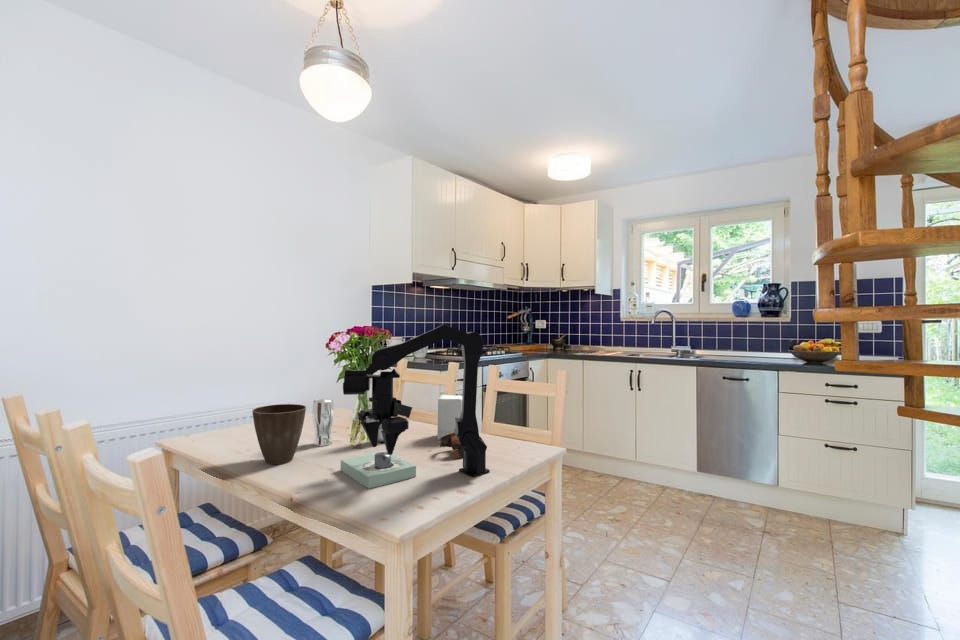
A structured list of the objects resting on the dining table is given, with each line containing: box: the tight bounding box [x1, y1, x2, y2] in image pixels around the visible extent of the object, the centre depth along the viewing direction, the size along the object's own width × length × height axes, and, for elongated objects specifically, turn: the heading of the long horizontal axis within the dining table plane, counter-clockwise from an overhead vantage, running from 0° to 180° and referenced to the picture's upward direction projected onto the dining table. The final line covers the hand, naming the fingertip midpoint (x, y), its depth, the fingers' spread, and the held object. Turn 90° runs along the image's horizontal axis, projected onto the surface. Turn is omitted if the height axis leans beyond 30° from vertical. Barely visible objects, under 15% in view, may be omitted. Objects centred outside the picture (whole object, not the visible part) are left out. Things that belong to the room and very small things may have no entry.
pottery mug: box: [439, 433, 466, 460], centre depth 142 cm, size 12×10×8 cm
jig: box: [340, 450, 417, 490], centre depth 123 cm, size 18×14×3 cm
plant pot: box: [251, 403, 307, 465], centre depth 134 cm, size 15×15×16 cm
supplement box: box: [437, 394, 463, 441], centre depth 162 cm, size 9×9×15 cm
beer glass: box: [311, 398, 335, 447], centre depth 153 cm, size 7×7×15 cm
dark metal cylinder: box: [375, 451, 391, 469], centre depth 121 cm, size 4×4×6 cm
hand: (382, 450), depth 121 cm, fingers open, 9 cm apart
